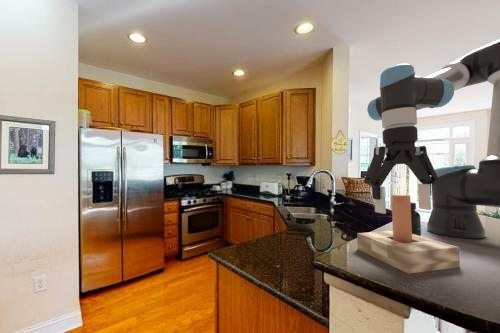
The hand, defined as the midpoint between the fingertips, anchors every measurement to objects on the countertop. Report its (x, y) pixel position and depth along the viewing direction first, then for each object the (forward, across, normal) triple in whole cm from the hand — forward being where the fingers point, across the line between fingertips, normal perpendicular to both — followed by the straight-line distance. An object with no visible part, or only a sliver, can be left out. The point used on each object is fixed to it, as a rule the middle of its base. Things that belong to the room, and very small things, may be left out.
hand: (403, 210), depth 58 cm
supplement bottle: (+12, -12, -11) cm, 21 cm away
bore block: (+12, +1, 0) cm, 12 cm away
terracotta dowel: (+10, +1, 0) cm, 10 cm away
